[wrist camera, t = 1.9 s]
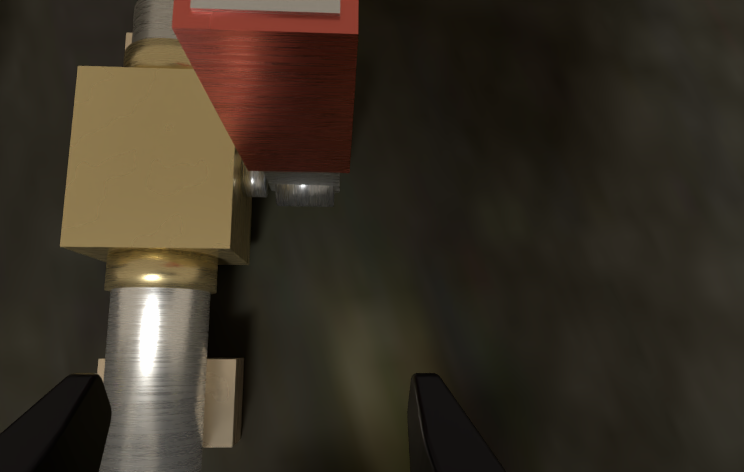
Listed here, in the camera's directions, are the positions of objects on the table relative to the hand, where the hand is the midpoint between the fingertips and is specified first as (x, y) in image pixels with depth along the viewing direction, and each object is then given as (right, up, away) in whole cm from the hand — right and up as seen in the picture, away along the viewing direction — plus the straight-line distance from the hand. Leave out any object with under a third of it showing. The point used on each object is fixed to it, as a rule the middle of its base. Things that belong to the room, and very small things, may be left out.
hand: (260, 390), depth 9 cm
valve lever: (-1, +4, +13) cm, 13 cm away
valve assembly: (-5, +2, +14) cm, 15 cm away
